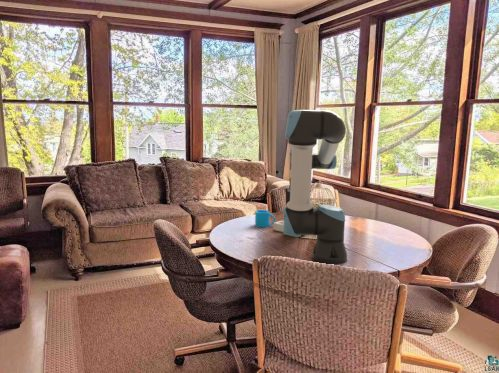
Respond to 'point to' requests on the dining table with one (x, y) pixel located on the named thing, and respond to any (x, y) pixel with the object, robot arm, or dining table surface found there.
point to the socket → (289, 234)
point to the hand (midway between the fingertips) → (295, 220)
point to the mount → (279, 226)
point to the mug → (263, 218)
